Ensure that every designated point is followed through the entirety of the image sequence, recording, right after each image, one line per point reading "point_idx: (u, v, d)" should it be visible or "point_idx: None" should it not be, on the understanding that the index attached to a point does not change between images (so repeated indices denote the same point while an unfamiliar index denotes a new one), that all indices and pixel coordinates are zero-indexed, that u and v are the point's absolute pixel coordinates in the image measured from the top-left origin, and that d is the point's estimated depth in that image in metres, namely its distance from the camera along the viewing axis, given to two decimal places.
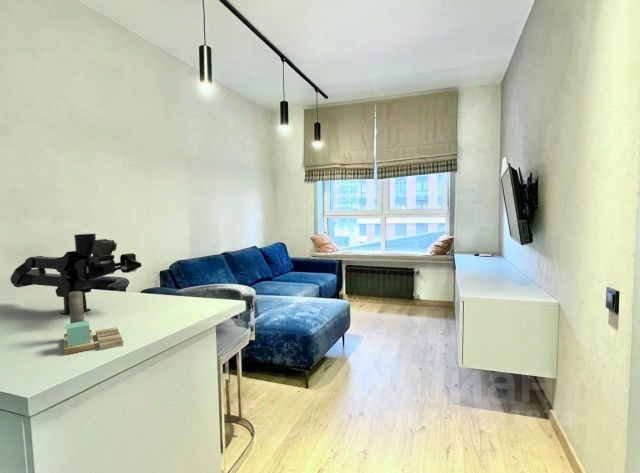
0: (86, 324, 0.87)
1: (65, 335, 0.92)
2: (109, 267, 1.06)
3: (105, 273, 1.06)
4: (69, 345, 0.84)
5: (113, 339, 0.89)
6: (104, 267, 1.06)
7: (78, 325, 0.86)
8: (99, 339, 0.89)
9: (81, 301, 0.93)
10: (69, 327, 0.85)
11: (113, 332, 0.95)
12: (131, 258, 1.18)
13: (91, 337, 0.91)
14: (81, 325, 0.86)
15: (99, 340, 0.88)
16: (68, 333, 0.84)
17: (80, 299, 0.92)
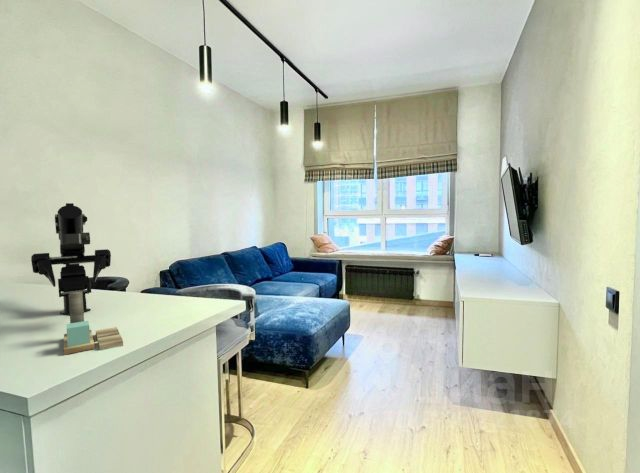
0: (86, 324, 0.87)
1: (65, 335, 0.92)
2: (51, 279, 0.96)
3: (49, 280, 0.98)
4: (69, 345, 0.84)
5: (113, 339, 0.89)
6: (48, 275, 0.97)
7: (78, 325, 0.86)
8: (99, 339, 0.89)
9: (81, 301, 0.93)
10: (69, 327, 0.85)
11: (113, 332, 0.95)
12: (98, 262, 1.04)
13: (91, 337, 0.91)
14: (81, 325, 0.86)
15: (99, 340, 0.88)
16: (68, 333, 0.84)
17: (80, 299, 0.92)
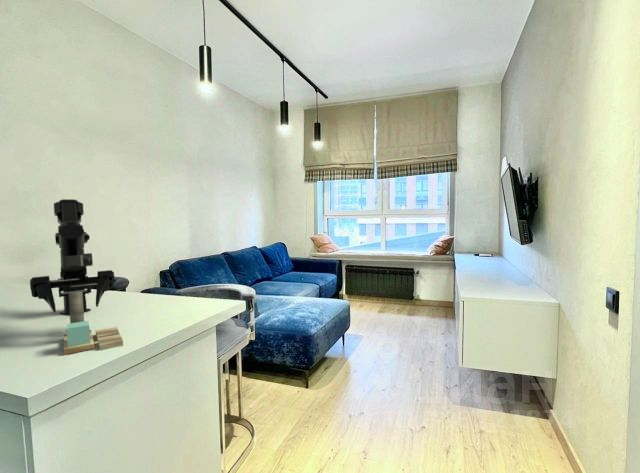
0: (86, 324, 0.87)
1: (65, 335, 0.92)
2: (51, 305, 0.90)
3: (49, 305, 0.92)
4: (69, 345, 0.84)
5: (113, 339, 0.89)
6: (48, 300, 0.91)
7: (78, 325, 0.86)
8: (99, 339, 0.89)
9: (81, 301, 0.93)
10: (69, 327, 0.85)
11: (113, 332, 0.95)
12: (101, 284, 0.98)
13: (91, 337, 0.91)
14: (81, 325, 0.86)
15: (99, 340, 0.88)
16: (68, 333, 0.84)
17: (80, 299, 0.92)
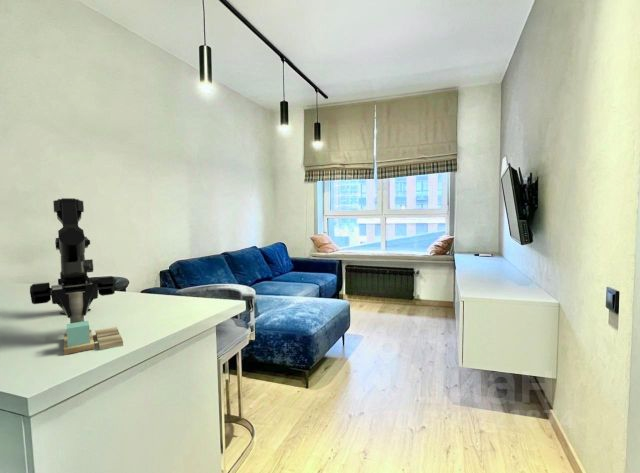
0: (86, 324, 0.87)
1: (65, 335, 0.92)
2: (65, 310, 0.91)
3: (63, 310, 0.92)
4: (69, 345, 0.84)
5: (113, 339, 0.89)
6: (63, 306, 0.91)
7: (78, 325, 0.86)
8: (99, 339, 0.89)
9: (81, 301, 0.93)
10: (69, 327, 0.85)
11: (113, 332, 0.95)
12: (89, 292, 0.95)
13: (91, 337, 0.91)
14: (81, 325, 0.86)
15: (99, 340, 0.88)
16: (68, 333, 0.84)
17: (80, 299, 0.92)
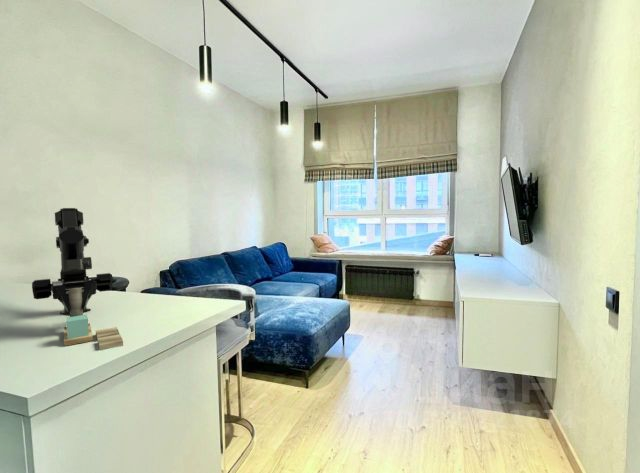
0: (85, 317, 0.92)
1: (65, 328, 0.98)
2: (65, 305, 0.96)
3: None
4: (69, 337, 0.90)
5: (113, 339, 0.89)
6: (63, 300, 0.97)
7: (77, 318, 0.92)
8: (99, 339, 0.89)
9: (80, 296, 0.98)
10: (69, 320, 0.90)
11: (113, 332, 0.95)
12: (87, 288, 1.01)
13: (90, 330, 0.96)
14: (80, 318, 0.92)
15: (99, 340, 0.88)
16: (68, 326, 0.89)
17: (79, 294, 0.98)
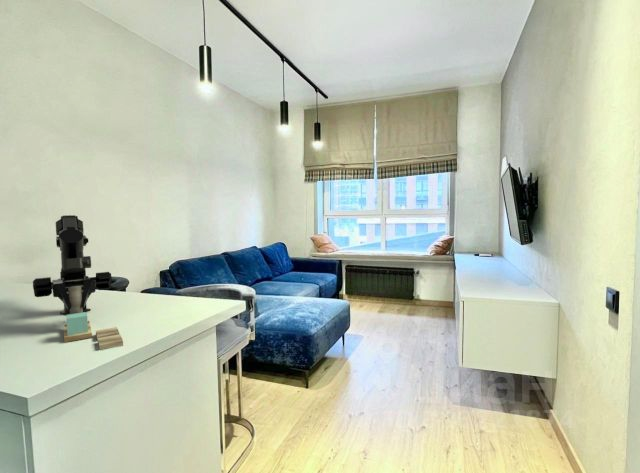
0: (84, 315, 0.95)
1: (65, 325, 1.00)
2: (65, 302, 0.99)
3: (63, 302, 1.01)
4: (69, 334, 0.92)
5: (113, 339, 0.89)
6: (63, 298, 0.99)
7: (77, 315, 0.94)
8: (99, 339, 0.89)
9: (80, 294, 1.01)
10: (69, 317, 0.93)
11: (113, 332, 0.95)
12: (87, 287, 1.03)
13: (89, 327, 0.99)
14: (80, 316, 0.94)
15: (99, 340, 0.88)
16: (68, 323, 0.92)
17: (79, 292, 1.00)
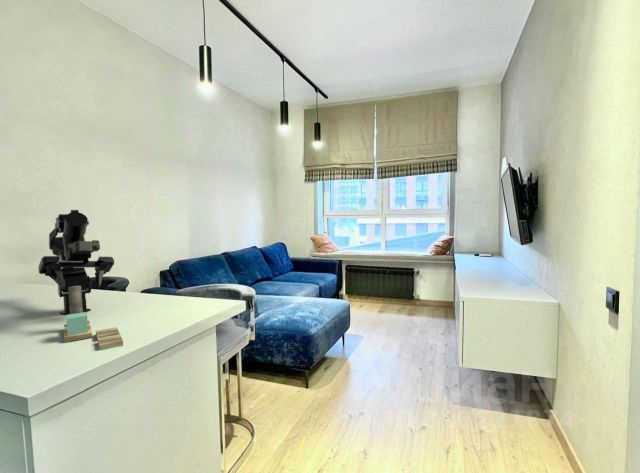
0: (84, 315, 0.95)
1: (65, 325, 1.00)
2: (60, 282, 1.02)
3: (57, 282, 1.03)
4: (69, 334, 0.92)
5: (113, 339, 0.89)
6: (58, 278, 1.03)
7: (77, 315, 0.94)
8: (99, 339, 0.89)
9: (80, 294, 1.01)
10: (69, 317, 0.93)
11: (113, 332, 0.95)
12: (103, 269, 1.12)
13: (89, 327, 0.99)
14: (80, 316, 0.94)
15: (99, 340, 0.88)
16: (68, 323, 0.92)
17: (79, 292, 1.00)
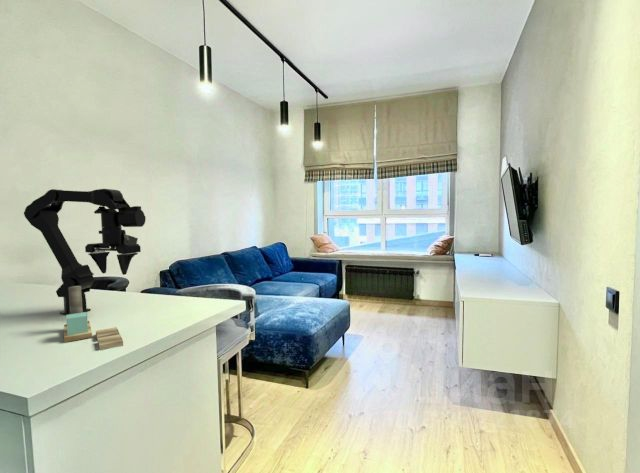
0: (84, 315, 0.95)
1: (65, 325, 1.00)
2: (127, 269, 1.17)
3: (123, 266, 1.15)
4: (69, 334, 0.92)
5: (113, 339, 0.89)
6: (128, 264, 1.16)
7: (77, 315, 0.94)
8: (99, 339, 0.89)
9: (80, 294, 1.01)
10: (69, 317, 0.93)
11: (113, 332, 0.95)
12: None
13: (89, 327, 0.99)
14: (80, 316, 0.94)
15: (99, 340, 0.88)
16: (68, 323, 0.92)
17: (79, 292, 1.00)
